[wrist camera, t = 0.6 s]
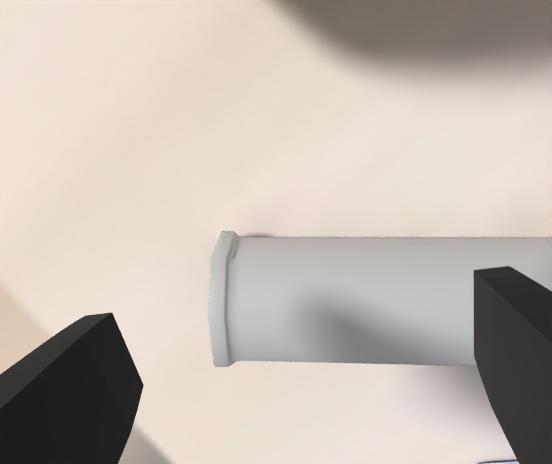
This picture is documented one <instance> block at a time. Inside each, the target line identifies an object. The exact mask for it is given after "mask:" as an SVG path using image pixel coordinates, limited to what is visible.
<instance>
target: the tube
mask: <svg viewBox="0 0 552 464" xmlns="http://www.w3.org/2000/svg"><path fill="white" fill-rule="evenodd" d="M504 266H510V267H512V268H514V269H515V270H517V271H519V272H521V273H522V274H524V275H526V276H527V277H529V278H531V279H532V280H534V281H536V282H537V283H539V284H541V285H542V286H544V287H546V288H547V289H549V290H551V291H552V238H517V237H241V236H238V235H237V234H236V233H235V232H234V231H222V232H221V234H220V236H219V239H218V241H217V243H216V246H215V248H214V251H213V253H212V256H211V258H210V277H209V302H208V325H209V332H210V340H211V348H212V356H213V364H214V366H215V367H229V366H230V365H232V364H233V363H235V362H236V361H284V362H328V363H372V364H416V365H460V366H477V364H476V361H475V358H474V270H479V269H487V268H496V267H504Z"/></svg>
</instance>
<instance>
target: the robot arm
mask: <svg viewBox="0 0 552 464" xmlns="http://www.w3.org/2000/svg"><path fill="white" fill-rule="evenodd" d="M474 358H475V361H476V364H477V367H478V370H479V373H480V376H481V379H482V382H483V384H484V387H485V390H486V393H487V395H488V398H489V401H490V404H491V406H492V409H493V411H494V413H495V415H496V417H497V419H498V421H499V423H500V425H501V427H502V429H503V431H504V433H505V435H506V438H507V440H508V442H509V444H510V446H511V448H512V450H513V452H514V454H515V456H516V458H517V460H518V461H514V462H498V463H482V464H552V291H551V290H549V289H547V288H546V287H544V286H542V285H541V284H539V283H537V282H536V281H534V280H532V279H531V278H529V277H527V276H526V275H524V274H522V273H521V272H519V271H517V270H515V269H514V268H512V267H510V266H504V267H496V268H487V269H479V270H474ZM142 389H143V383H142V381H141V378H140V376H139V374H138V371H137V369H136V367H135V364H134V362H133V360H132V357H131V355H130V353H129V351H128V348H127V346H126V344H125V341H124V339H123V337H122V334H121V332H120V330H119V328H118V325H117V323H116V321H115V318H114V316H113V314H112V313H105V314H96V315H88V316H84V317H83V318H81V319H79V320H77V321H76V322H74V323H73V324H71V325H69V326H68V327H66V328H65V329H63V330H62V331H60V332H59V333H57V334H56V335H55V336H53V337H52V338H50V339H49V340H47V341H46V342H45V343H43V344H42V345H40V346H39V347H38V348H36V349H35V350H33V351H32V352H31V353H29V354H28V355H27V356H25V357H24V358H22V359H21V360H20V361H18V362H17V363H16V364H14V365H13V366H11V367H10V368H9V369H7V370H6V371H4V372H3V373H2V374H0V464H118V462H119V460H120V457H121V455H122V453H123V450H124V448H125V445H126V443H127V440H128V438H129V435H130V433H131V430H132V426H133V423H134V419H135V416H136V413H137V409H138V405H139V401H140V397H141V393H142Z"/></svg>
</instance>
